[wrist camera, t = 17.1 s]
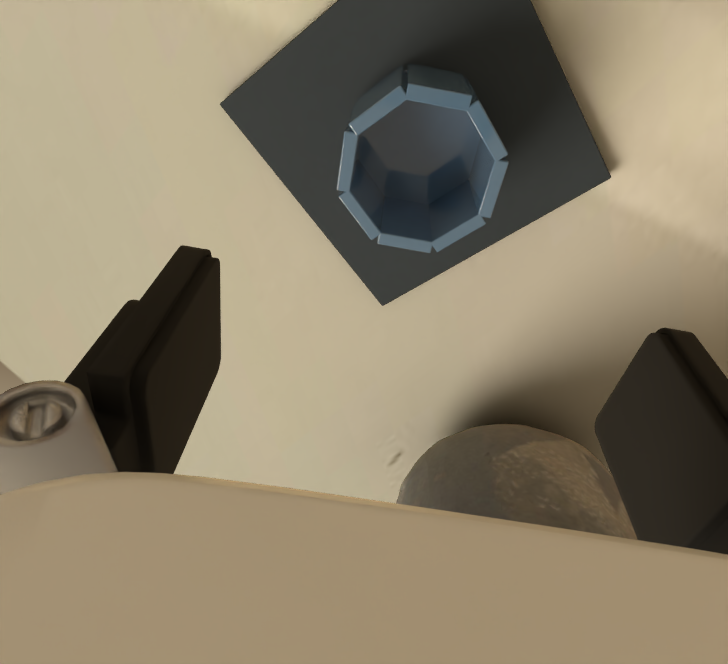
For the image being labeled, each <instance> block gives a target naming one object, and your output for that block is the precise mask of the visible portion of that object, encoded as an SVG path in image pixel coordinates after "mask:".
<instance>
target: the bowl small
mask: <svg viewBox="0 0 728 664" xmlns="http://www.w3.org/2000/svg"><path fill="white" fill-rule="evenodd" d="M507 155H508V151H507V150H506V148H505V146H504V144H503V142H502V140H501V138H500V136H499V134H498V132H497V130H496V128H495V127H494V125H493V123H492V121H491V119H490V117H489V115H488V114H487V112H486V110H485V108H484V106H483V105H482V103H481V101H480V99H479V97H478V95H477V94H476V92H475V90H474V88H473V86H472V85H471V83H470V81H469V79H468V78H467V79H464V77H463V75H462V74H461V73H456V72H451V71H446V70H443V69H439V68H436V67H428V66H420V65H415V64H408V66H407V68H405V69H404V68H403V66H400V67H398V68H397V69H396V70H394V71H393V72H392V73H390V74H389V75H387V76H386V77H384V78H383V79H381V80H380V81H379V82H378V83H376V84H375V85H374V86H373V87H372V88H371V89H370V90H368V91H367V92H366V93H364V94H363V95H362V96H360V97H359V98H358V100H357V103H356V105H354V107H353V110H352V112H351V115H350V118H349V120H348V123H347V126H346V128H345V131H344V136H343V144H342V151H341V159H340V166H339V174H338V181H337V190H339V191H340V194H339V198H340V200H341V201H342V202H343V204H344V205H345V206H346V208H347V209H348V210H349V212H350V213H351V214H352V216H353V217H354V218H355V219H356V221H357V222H358V223H359V225H360V226H361V227H362V229H363V230H364V231H365V233H366V234H367V235H368V237H369V238H370V239H371V240H373V239H374V238H376V237H378V238H377V243H378V244H381V245H387V246H393V247H398V248H404V249H409V250H415V251H421V252H426V253H430V252H431V250H432V246H433V247H434V249H435V250H436V252H439V251H440V250H442V249H444V248H445V247H447V246H449V245H451V244H452V243H454V242H456V241H457V240H459V239H461V238H463V237H464V236H466V235H468V234H470V233H471V232H473V231H475V230H476V229H478V228H480V227H482V226H483V225H485V224H486V221H485V218H484V217H487V218H491V216H492V213H493V210H494V207H495V204H496V201H497V198H498V194H499V191H500V188H501V185H502V182H503V179H504V176H505V173H506V170H507V167H508V164H509V161H508V159H507V157H506V156H507Z"/></svg>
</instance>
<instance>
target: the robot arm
mask: <svg viewBox="0 0 728 664" xmlns="http://www.w3.org/2000/svg"><path fill="white" fill-rule="evenodd" d="M220 360H221V322H220V261H219V259H218V258H213V257H212V256H211V252H210V250H207V249H201V248H195V247H189V246H180V247H179V248H178V250H177V251H176V252H175V254H174V255H173V256H172V258H171V259H170V260H169V262H168V263H167V264H166V266H165V267H164V268H163V270H162V271H161V272H160V274H159V275H158V276H157V278H156V279H155V281H154V282H153V283H152V285H151V286H150V287H149V289H148V290H147V291H146V293H145V294H144V295H143V297H142V298H141V299H140V301H138V300H130V301H128V302H127V303H126V304H125V305H124V306H123V307H122V309H121V310H120V311H119V312H118V314H117V315H116V316H115V318H114V319H113V320H112V321H111V323H110V324H109V325H108V327H107V328H106V329H105V330H104V332H103V333H102V334H101V336H100V337H99V338H98V339H97V341H96V342H95V343H94V344H93V346H92V347H91V348H90V350H89V351H88V352H87V353H86V355H85V356H84V357H83V359H82V360H81V361H80V362H79V364H78V365H77V366H76V368H75V369H74V370H73V371H72V373H71V374H70V375H69V377H68V378H67V379H66V380H65V382H60V381H36V382H30V383H25V384H22V385H19V386H17V387H14V388H11V389H9V390H7V391H5V392H4V393H2V394H0V664H728V379H727V378H726V376H725V375H724V374H723V372H722V371H721V370H720V368H719V367H718V366H717V364H716V363H715V362H714V360H713V359H712V358H711V356H710V355H709V354H708V352H707V351H706V350H705V348H704V347H703V346H702V344H701V343H700V342H699V340H698V339H697V338H696V336H695V335H694V334H693V333H691V332H686V331H681V330H675V329H669V328H661V329H659V330H658V331H657V332H656V333H651V334H649V335H648V336H647V338H646V339H645V341H644V342H643V344H642V346H641V347H640V349H639V350H638V352H637V354H636V355H635V357H634V358H633V360H632V362H631V363H630V365H629V366H628V368H627V370H626V371H625V373H624V374H623V376H622V378H621V379H620V381H619V382H618V384H617V386H616V387H615V389H614V390H613V392H612V394H611V395H610V397H609V398H608V400H607V402H606V403H605V405H604V406H603V408H602V410H601V411H600V413H599V414H598V416H597V418H596V421H595V432H596V435H597V438H598V440H599V443H600V445H601V448H602V451H603V453H604V456H605V458H606V461H607V463H608V466H609V468H610V471H611V473H612V476H613V478H614V481H615V483H616V486H617V488H618V491H619V494H620V496H621V499H622V501H623V504H624V506H625V509H626V511H627V514H628V516H629V519H630V521H631V524H632V526H633V529H634V531H635V534H636V537H637V539H638V540H634V539H627V538H621V537H615V536H608V535H602V534H595V533H589V532H583V531H576V530H570V529H563V528H556V527H550V526H543V525H537V524H530V523H523V522H517V521H510V520H504V519H497V518H490V517H484V516H477V515H470V514H464V513H457V512H450V511H444V510H437V509H430V508H424V507H417V506H410V505H403V504H396V503H389V502H382V501H375V500H369V499H362V498H355V497H348V496H341V495H334V494H327V493H320V492H313V491H306V490H300V489H293V488H285V487H278V486H270V485H262V484H254V483H247V482H239V481H231V480H224V479H216V478H208V477H199V476H188V475H177V474H173V473H174V471H175V469H176V467H177V464H178V462H179V460H180V457H181V455H182V453H183V451H184V448H185V446H186V444H187V441H188V439H189V437H190V434H191V432H192V430H193V428H194V425H195V423H196V421H197V418H198V416H199V414H200V412H201V409H202V407H203V405H204V402H205V400H206V398H207V396H208V393H209V391H210V389H211V386H212V384H213V382H214V380H215V377H216V375H217V373H218V370H219V366H220Z"/></svg>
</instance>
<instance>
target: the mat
mask: <svg viewBox="0 0 728 664" xmlns="http://www.w3.org/2000/svg"><path fill="white" fill-rule="evenodd" d="M408 64H415V65H420V66H428V67H436V68H439V69H443V70H446V71H451V72H456V73H461V74H462V75H463V77H464V79H467V78H468V79H469V81H470V83H471V85H472V86H473V88H474V90H475V92H476V94H477V95H478V97H479V99H480V101H481V103H482V105H483V106H484V108H485V110H486V112H487V114H488V115H489V117H490V119H491V121H492V123H493V125H494V127H495V128H496V130H497V132H498V134H499V136H500V138H501V140H502V142H503V144H504V146H505V148H506V150H507V151H508V155H507V156H506V157H507V159H508V161H509V164H508V167H507V170H506V173H505V176H504V179H503V182H502V185H501V188H500V191H499V194H498V198H497V201H496V204H495V207H494V210H493V213H492V216H491V218H487V217H484V218H485V221H486V224H485V225H483V226H482V227H480V228H478V229H476V230H475V231H473V232H471V233H470V234H468V235H466V236H464V237H463V238H461V239H459V240H457V241H456V242H454V243H452V244H451V245H449V246H447V247H445V248H444V249H442V250H440V251H439V252H436V250H435V249H434V247H433V246H432V250H431V252H430V253H426V252H421V251H415V250H409V249H404V248H398V247H393V246H387V245H381V244H378V243H377V238H378V237H376V238H374V239H373V240H371V239H370V238H369V237H368V235H367V234H366V233H365V231H364V230H363V229H362V227H361V226H360V225H359V223H358V222H357V221H356V219H355V218H354V217H353V216H352V214H351V213H350V212H349V210H348V209H347V208H346V206H345V205H344V204H343V202H342V201H341V200H340V198H339V194H340V191H339V190H337V181H338V174H339V166H340V159H341V151H342V144H343V136H344V131H345V128H346V126H347V123H348V120H349V118H350V115H351V112H352V110H353V107H354V105H356V103H357V100H358V98H359V97H360V96H362V95H363V94H364V93H366V92H367V91H368V90H370V89H371V88H372V87H373V86H374V85H375V84H376V83H378V82H379V81H380V80H381V79H383V78H384V77H386V76H387V75H389V74H390V73H392V72H393V71H394V70H396V69H397V68H398V67H400V66H403V68H404V69H405V68H407V66H408ZM220 105H221V106H222V108H223V109H224V110H225V111H226V113H227V114H228V115H229V116H230V118H231V119H232V120H233V121H234V123H235V124H236V125H237V126H238V128H239V129H240V130H241V131H242V133H243V134H244V135H245V136H246V137H247V139H248V140H249V141H250V142H251V144H252V145H253V146H254V147H255V149H256V150H257V151H258V152H259V154H260V155H261V156H262V157H263V159H264V160H265V161H266V162H267V164H268V165H269V166H270V167H271V168H272V170H273V171H274V172H275V173H276V175H277V176H278V177H279V178H280V180H281V181H282V182H283V183H284V185H285V186H286V187H287V188H288V190H289V191H290V192H291V193H292V195H293V196H294V197H295V198H296V199H297V201H298V202H299V203H300V204H301V206H302V207H303V208H304V209H305V211H306V212H307V213H308V214H309V216H310V217H311V218H312V219H313V221H314V222H315V223H316V224H317V226H318V227H319V228H320V229H321V230H322V232H323V233H324V234H325V235H326V237H327V238H328V239H329V240H330V242H331V243H332V244H333V245H334V247H335V248H336V249H337V250H338V252H339V253H340V254H341V255H342V257H343V258H344V259H345V260H346V261H347V263H348V264H349V265H350V266H351V268H352V269H353V270H354V271H355V273H356V274H357V275H358V276H359V278H360V279H361V280H362V281H363V283H364V284H365V285H366V286H367V288H368V289H369V290H370V291H371V292H372V294H373V295H374V296H375V297H376V299H377V300H378V301H379V302H380V304H381V305H382V306H383V305H385V304H387V303H389V302H391V301H392V300H394V299H396V298H398V297H399V296H401V295H403V294H405V293H407V292H408V291H410V290H412V289H414V288H416V287H417V286H419V285H421V284H423V283H424V282H426V281H428V280H430V279H432V278H433V277H435V276H437V275H439V274H440V273H442V272H444V271H446V270H448V269H449V268H451V267H453V266H455V265H457V264H458V263H460V262H462V261H464V260H465V259H467V258H469V257H471V256H473V255H474V254H476V253H478V252H480V251H481V250H483V249H485V248H487V247H489V246H490V245H492V244H494V243H496V242H498V241H499V240H501V239H503V238H505V237H506V236H508V235H510V234H512V233H514V232H515V231H517V230H519V229H521V228H522V227H524V226H526V225H528V224H530V223H531V222H533V221H535V220H537V219H539V218H540V217H542V216H544V215H546V214H547V213H549V212H551V211H553V210H555V209H556V208H558V207H560V206H562V205H563V204H565V203H567V202H569V201H571V200H572V199H574V198H576V197H578V196H580V195H581V194H583V193H585V192H587V191H588V190H590V189H592V188H594V187H596V186H597V185H599V184H601V183H603V182H604V181H606V180H608V179H610V178H611V175H610V173H609V171H608V169H607V167H606V164H605V162H604V160H603V158H602V156H601V153H600V151H599V149H598V147H597V145H596V142H595V140H594V138H593V136H592V134H591V132H590V129H589V127H588V125H587V123H586V121H585V118H584V116H583V114H582V112H581V110H580V108H579V105H578V103H577V101H576V99H575V97H574V94H573V92H572V90H571V88H570V86H569V83H568V81H567V79H566V77H565V75H564V73H563V70H562V68H561V66H560V64H559V62H558V59H557V57H556V55H555V53H554V51H553V48H552V46H551V44H550V42H549V40H548V38H547V35H546V33H545V31H544V29H543V27H542V24H541V22H540V20H539V18H538V16H537V14H536V11H535V9H534V7H533V5H532V3H531V0H338V1H337V2H336V3H335V4H333V5H332V6H331V7H330V8H329V9H328V10H327V11H325V12H324V13H323V14H322V15H321V16H320V17H319V18H317V19H316V20H315V21H314V22H313V23H312V24H311V25H309V26H308V27H307V28H306V29H305V30H304V31H303V32H301V33H300V34H299V35H298V36H297V37H296V38H295V39H293V40H292V41H291V42H290V43H289V44H288V45H287V46H285V47H284V48H283V49H282V50H281V51H280V52H279V53H277V54H276V55H275V56H274V57H273V58H272V59H271V60H269V61H268V62H267V63H266V64H265V65H264V66H263V67H261V68H260V69H259V70H258V71H257V72H256V73H255V74H253V75H252V76H251V77H250V78H249V79H248V80H247V81H245V82H244V83H243V84H242V85H241V86H240V87H239V88H237V89H236V90H235V91H234V92H233V93H232V94H231V95H229V96H228V97H227V98H226V99H225V100H224V101H223V102H221V104H220Z"/></svg>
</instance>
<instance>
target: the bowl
mask: <svg viewBox="0 0 728 664" xmlns="http://www.w3.org/2000/svg"><path fill="white" fill-rule="evenodd" d="M396 504H403V505H410V506H417V507H424V508H430V509H437V510H444V511H450V512H457V513H464V514H470V515H477V516H484V517H490V518H497V519H504V520H510V521H517V522H523V523H530V524H537V525H543V526H550V527H556V528H563V529H570V530H576V531H583V532H589V533H595V534H602V535H608V536H615V537H621V538H627V539H634V540H638V539H637V537H636V534H635V531H634V529H633V526H632V524H631V521H630V519H629V516H628V514H627V511H626V509H625V506H624V504H623V501H622V499H621V496H620V494H619V491H618V488H617V486H616V483H615V481H614V478H613V476H612V475H611V473H610V472H609V471H608V470H607V469H606V467H605V466H604V465H603V464H602V463H601V462H600V461H599V460H598V459H597V458H596V457H595V456H594V455H593V454H592V453H591V452H590V451H588V450H587V449H586V448H585V447H583V446H582V445H580V444H579V443H577V442H574V441H572V440H570V439H568V438H565V437H563V436H561V435H558V434H555V433H552V432H548V431H545V430H541V429H537V428H533V427H529V426H525V425H518V424H494V425H484V426H478V427H472V428H469V429H466V430H464V431H461V432H459V433H456V434H454V435H451V436H449V437H446V438H444V439H442V440H440V441H438V442H437V443H435V444H434V445H433V446H432V447H431V448H429V449H428V450H427V451H426V452H425V453H424V454H423V455H422V456H421V457H420V458H419V460H418V461H417V462H416V463H415V465H414V466H413V468H412V469H411V471H410V472H409V473H408V475H407V476H406V478H405V479H404V481H403V483H402V485H401V488H400V492H399V497H398V499H397V503H396Z"/></svg>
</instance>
